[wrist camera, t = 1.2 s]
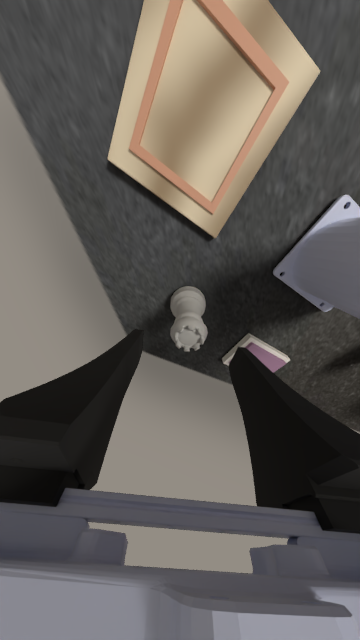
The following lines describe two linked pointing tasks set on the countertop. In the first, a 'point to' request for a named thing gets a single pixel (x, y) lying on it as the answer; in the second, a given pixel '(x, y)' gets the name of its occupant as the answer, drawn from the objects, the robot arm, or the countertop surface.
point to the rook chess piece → (188, 318)
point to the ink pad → (259, 353)
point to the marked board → (207, 101)
